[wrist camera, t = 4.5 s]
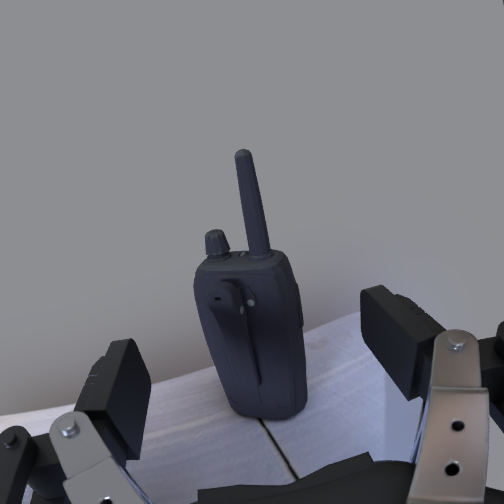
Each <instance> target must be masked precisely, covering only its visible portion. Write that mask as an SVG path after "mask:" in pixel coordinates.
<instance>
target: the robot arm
mask: <svg viewBox="0 0 504 504" xmlns="http://www.w3.org/2000/svg"><path fill="white" fill-rule="evenodd" d="M503 4H504V0H503ZM360 307H361V308H360V310H361V333H362V337H363V340H364V342H365V343H366V345H367V346H368V348H369V349H370V350H371V352H372V353H373V354H374V356H375V357H376V358H377V360H378V361H379V362H380V364H381V365H382V366H383V368H384V369H385V370H386V372H387V373H388V374H389V376H390V377H391V378H392V380H393V381H394V382H395V384H396V385H397V386H398V388H399V389H400V391H401V392H402V393H403V395H404V396H405V398H406V399H407V400H408V401H410V400H412V399H415V398H417V397H419V396H420V397H421V398H422V399H423V403H422V407H421V412H420V418H419V422H418V427H417V432H416V437H415V441H414V445H413V449H412V453H411V456H410V460H409V462H404V461H392V460H386V461H374V462H373V460H372V458H371V456H370V454H369V452H366V453H363V454H360V455H357V456H354V457H351V458H348V459H345V460H342V461H339V462H336V463H333V464H329V465H327V466H325V467H323V468H321V469H319V470H317V471H315V472H313V473H311V474H309V475H307V476H305V477H303V478H301V479H299V480H297V481H295V482H293V483H290V484H288V485H234V486H227V487H219V488H210V489H200V490H198V501H196V502H193V503H191V504H504V491H501V490H497V489H493V488H489V487H486V486H485V485H486V476H487V465H488V448H489V415H490V416H491V417H492V419H493V420H494V421H495V423H496V424H497V425H498V426H499V428H500V429H501V430H502V432H503V433H504V321H503V322H501V323H500V325H499V326H498V329H497V333H496V337H491V338H486V339H481V340H477V339H476V338H475V337H474V336H473V335H472V334H471V333H469V332H466V331H463V330H446V329H445V328H443V327H442V326H441V325H440V324H439V323H438V322H437V321H435V320H434V319H433V318H432V317H431V316H430V315H428V314H427V313H425V312H424V310H422V309H421V308H420V307H418V306H417V305H416V304H415V303H414V302H413V301H411V299H409V298H407V297H404V296H401V295H399V294H396V295H394V294H392V293H391V292H390V291H389V290H388V289H386V287H384V286H383V285H378V286H374V287H371V288H367V289H363V290H362V291H361V294H360ZM88 376H89V378H87V380H86V382H85V386H84V387H83V389H82V392H81V394H80V396H79V398H78V401H77V403H76V406H75V408H74V411H73V412H68V413H66V414H63V415H62V416H60V417H59V418H57V419H56V420H55V421H54V423H53V424H52V426H51V428H50V431H49V433H46V434H42V435H38V436H34V437H32V436H31V435H30V434H29V433H28V431H27V430H26V429H25V428H24V427H22V426H12V427H9V428H7V429H6V430H4V431H3V432H2V433H1V434H0V504H22V499H23V495H24V491H25V488H26V485H27V484H28V485H29V486H30V487H31V488H32V489H33V490H34V491H33V495H32V498H31V502H30V504H154V503H153V502H152V501H151V500H150V498H149V497H148V496H147V495H146V493H145V492H144V491H143V490H142V488H141V487H140V486H139V485H138V483H137V482H136V481H135V479H134V478H133V477H132V476H131V474H130V473H129V471H128V470H127V469H126V468H125V466H126V461H127V460H139V459H140V452H141V446H142V439H143V433H144V427H145V421H146V415H147V409H148V404H149V398H150V393H151V379H150V376H149V373H148V370H147V368H146V366H145V363H144V361H143V359H142V357H141V354H140V352H139V350H138V347H137V345H136V343H135V341H134V340H133V339H124V340H118V341H112V342H111V344H110V346H109V348H108V351H107V353H106V355H105V356H102V357H101V358H100V359H99V360H98V361H97V362H96V363H95V364H94V365H93V366H92V369H91V371H90V373H89V375H88Z"/></svg>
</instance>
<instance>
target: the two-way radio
mask: <svg viewBox="0 0 504 504" xmlns="http://www.w3.org/2000/svg"><path fill="white" fill-rule="evenodd" d="M235 162H236V169H237V177H238V184H239V191H240V197H241V204H242V210H243V216H244V222H245V228H246V234H247V240H248V246H249V251H234V252H229V250H230V247H229V244H228V242H227V240H226V237H225V234H224V232H223V231H222V230H218V229H216V230H211V231H209V232H207V233H206V235H205V244H206V255H208V257H207V259H205V260H204V261H203V262H202V263H201V264H200V265H199V267H198V268H197V270H196V273H195V278H194V286H193V287H194V295H195V300H196V305H197V309H198V314H199V318H200V322H201V325H202V329H203V332H204V335H205V338H206V342H207V345H208V347H209V351H210V354H211V356H212V359H213V361H214V364H215V367H216V370H217V372H218V375H219V378H220V380H221V383H222V385H223V388H224V391H225V393H226V396H227V398H228V400H229V403H230V405H231V407H232V409H233V410H234V411H235V412H237V413H239V414H241V415H245V416H249V417H255V418H263V419H286V418H289V417H292V416H294V415H295V414H296V413H297V412H299V411H300V410H302V409H303V408H304V406H305V404H306V402H307V382H306V358H305V348H304V339H303V330H302V327H303V325H304V323H303V313H302V306H301V300H300V293H299V288H298V284H297V283H296V281H295V278H294V275H293V272H292V268H291V265H290V263H289V260H288V257H287V256H286V255H285V254H284V253H283V252H281V251H278V250H272V249H270V243H269V237H268V231H267V226H266V221H265V216H264V210H263V205H262V200H261V195H260V190H259V186H258V182H257V177H256V172H255V167H254V163H253V158H252V154H251V152H250V151H249V150H246V149H241V150H239V151H237V152H236V154H235Z"/></svg>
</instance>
